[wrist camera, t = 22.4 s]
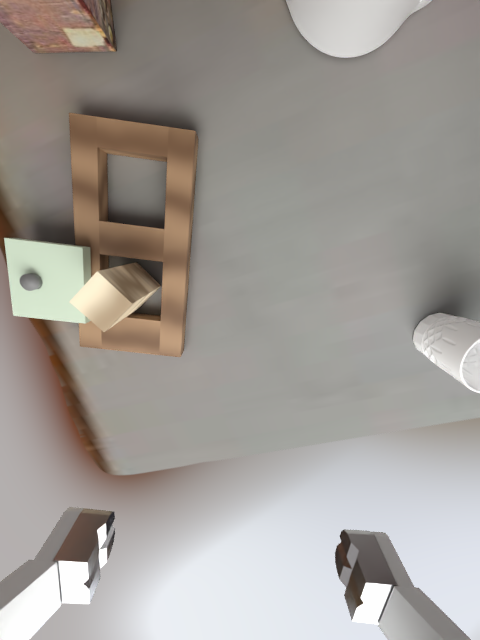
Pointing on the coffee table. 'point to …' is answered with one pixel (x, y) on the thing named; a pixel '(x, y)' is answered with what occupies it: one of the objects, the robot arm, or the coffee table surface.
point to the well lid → (46, 278)
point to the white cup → (451, 346)
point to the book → (60, 24)
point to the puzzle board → (136, 241)
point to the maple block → (114, 294)
